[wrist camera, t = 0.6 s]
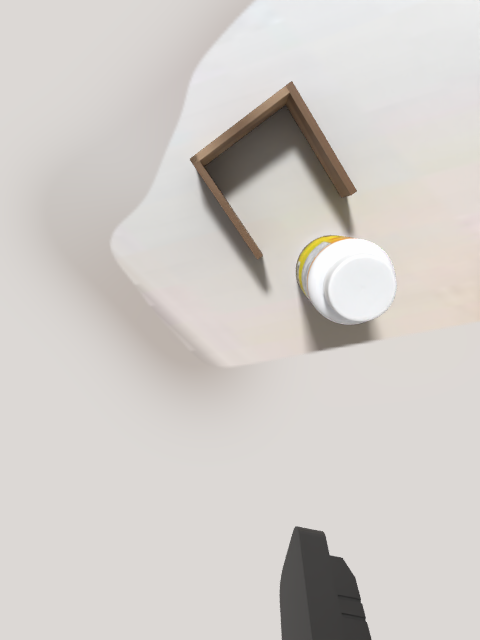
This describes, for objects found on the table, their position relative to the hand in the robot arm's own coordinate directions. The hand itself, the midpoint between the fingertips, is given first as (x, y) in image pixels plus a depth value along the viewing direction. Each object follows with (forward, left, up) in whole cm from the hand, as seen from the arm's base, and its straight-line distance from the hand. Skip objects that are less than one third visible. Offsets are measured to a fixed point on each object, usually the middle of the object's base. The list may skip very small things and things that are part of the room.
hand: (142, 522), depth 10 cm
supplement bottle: (-10, +2, -24) cm, 26 cm away
